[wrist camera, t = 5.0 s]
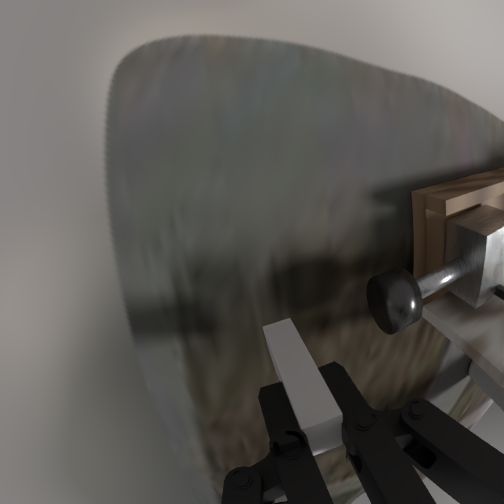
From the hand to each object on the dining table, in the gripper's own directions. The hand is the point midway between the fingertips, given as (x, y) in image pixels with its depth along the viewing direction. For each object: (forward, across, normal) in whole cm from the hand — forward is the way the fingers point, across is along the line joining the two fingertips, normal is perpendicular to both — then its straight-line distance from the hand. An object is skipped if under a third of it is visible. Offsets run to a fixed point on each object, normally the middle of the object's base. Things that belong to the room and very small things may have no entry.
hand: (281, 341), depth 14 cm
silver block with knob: (+2, +13, 0) cm, 13 cm away
